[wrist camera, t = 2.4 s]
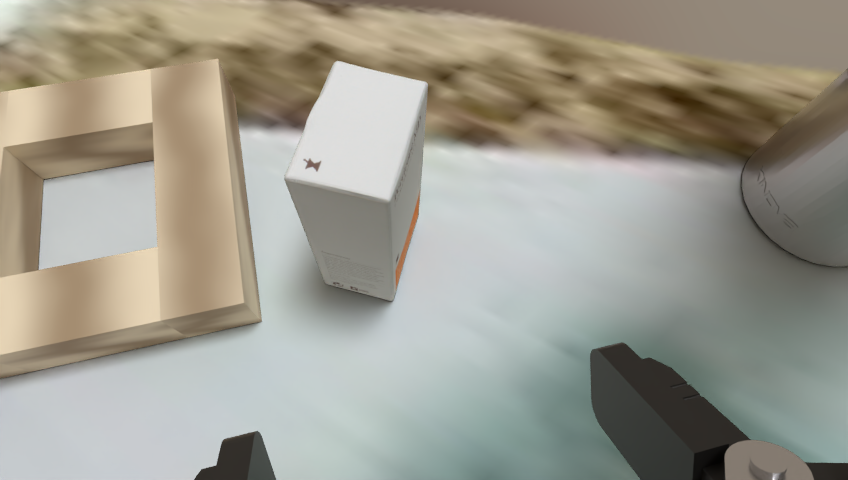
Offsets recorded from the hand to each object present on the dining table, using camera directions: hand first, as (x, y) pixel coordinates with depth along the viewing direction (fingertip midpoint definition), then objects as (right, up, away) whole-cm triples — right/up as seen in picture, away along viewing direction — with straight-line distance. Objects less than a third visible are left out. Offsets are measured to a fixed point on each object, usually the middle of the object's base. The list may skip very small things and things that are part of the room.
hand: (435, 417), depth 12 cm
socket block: (-19, +5, +19) cm, 27 cm away
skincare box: (-3, +4, +19) cm, 19 cm away
